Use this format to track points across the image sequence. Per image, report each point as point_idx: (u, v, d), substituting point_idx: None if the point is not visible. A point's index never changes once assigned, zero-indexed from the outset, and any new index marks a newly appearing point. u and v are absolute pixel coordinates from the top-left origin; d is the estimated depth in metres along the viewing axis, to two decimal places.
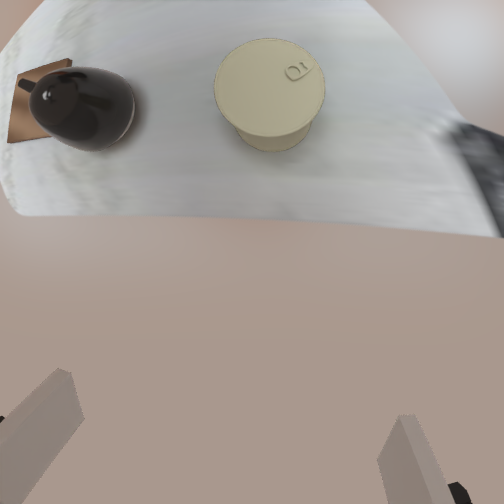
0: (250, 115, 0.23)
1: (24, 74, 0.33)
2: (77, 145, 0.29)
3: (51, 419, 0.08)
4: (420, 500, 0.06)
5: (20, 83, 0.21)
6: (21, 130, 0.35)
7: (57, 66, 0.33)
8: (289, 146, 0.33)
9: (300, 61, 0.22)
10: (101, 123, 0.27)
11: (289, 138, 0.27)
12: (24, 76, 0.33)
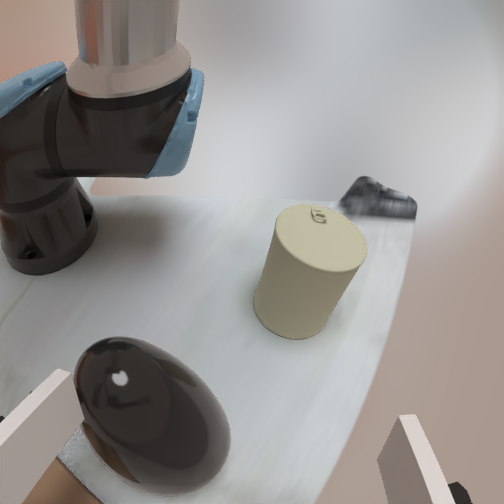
0: (344, 256, 0.27)
1: None
2: (207, 456, 0.16)
3: (51, 419, 0.08)
4: (420, 500, 0.06)
5: None
6: None
7: None
8: None
9: (311, 210, 0.31)
10: (212, 396, 0.18)
11: None
12: None
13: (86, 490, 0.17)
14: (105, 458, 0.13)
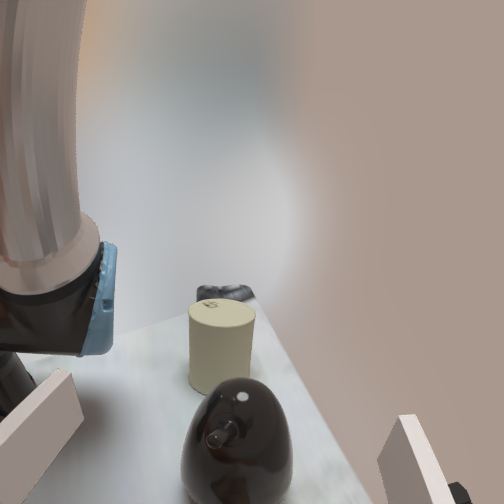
0: (243, 316, 0.41)
1: None
2: None
3: (51, 419, 0.08)
4: (420, 500, 0.06)
5: (218, 433, 0.17)
6: None
7: None
8: None
9: (203, 303, 0.43)
10: None
11: None
12: None
13: None
14: (259, 468, 0.18)
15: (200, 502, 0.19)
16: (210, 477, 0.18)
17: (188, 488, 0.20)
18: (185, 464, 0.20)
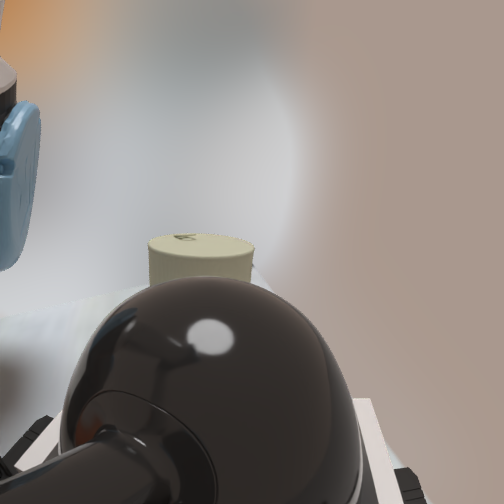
0: (235, 248, 0.26)
1: None
2: None
3: None
4: (365, 481, 0.07)
5: (17, 498, 0.01)
6: None
7: None
8: None
9: (175, 235, 0.28)
10: None
11: None
12: None
13: None
14: None
15: None
16: None
17: None
18: None
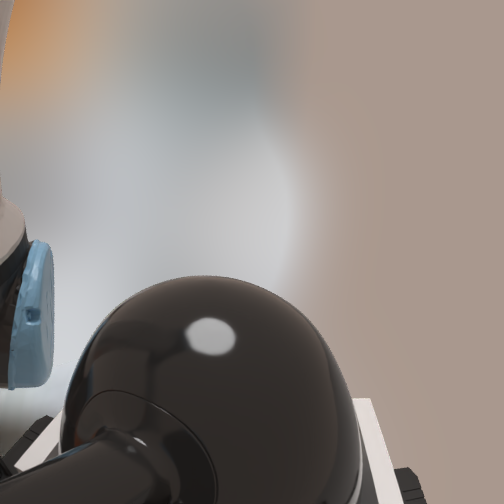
0: None
1: None
2: None
3: None
4: (365, 481, 0.07)
5: (18, 498, 0.01)
6: None
7: None
8: None
9: None
10: None
11: None
12: None
13: None
14: None
15: None
16: None
17: None
18: None
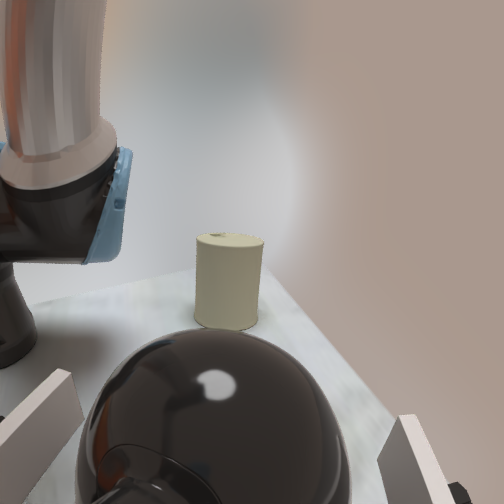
0: (252, 242, 0.41)
1: None
2: None
3: (51, 419, 0.08)
4: (420, 500, 0.06)
5: None
6: None
7: None
8: None
9: (211, 234, 0.44)
10: None
11: None
12: None
13: None
14: None
15: None
16: None
17: None
18: None
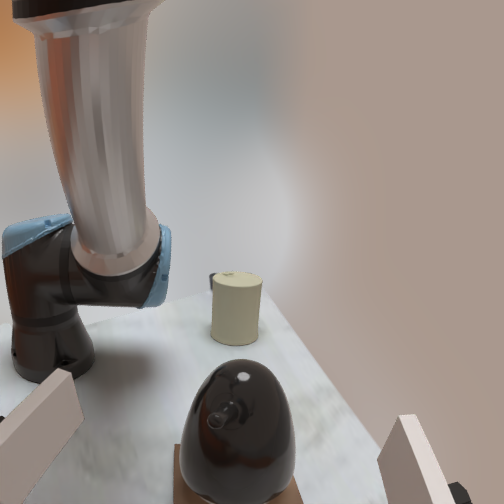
0: (253, 281, 0.56)
1: None
2: None
3: (51, 419, 0.08)
4: (420, 500, 0.06)
5: (219, 413, 0.16)
6: (284, 496, 0.22)
7: None
8: None
9: (223, 273, 0.59)
10: None
11: None
12: None
13: None
14: (262, 453, 0.18)
15: (200, 493, 0.19)
16: (211, 464, 0.18)
17: (187, 479, 0.20)
18: (184, 452, 0.20)
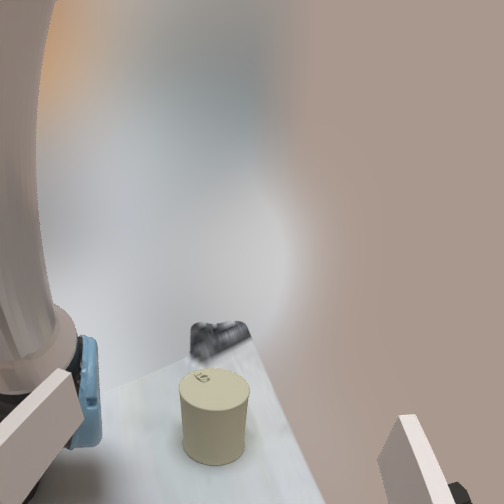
0: (237, 393, 0.36)
1: None
2: None
3: (51, 419, 0.08)
4: (420, 500, 0.06)
5: None
6: None
7: None
8: None
9: (195, 375, 0.39)
10: None
11: None
12: None
13: None
14: None
15: None
16: None
17: None
18: None
